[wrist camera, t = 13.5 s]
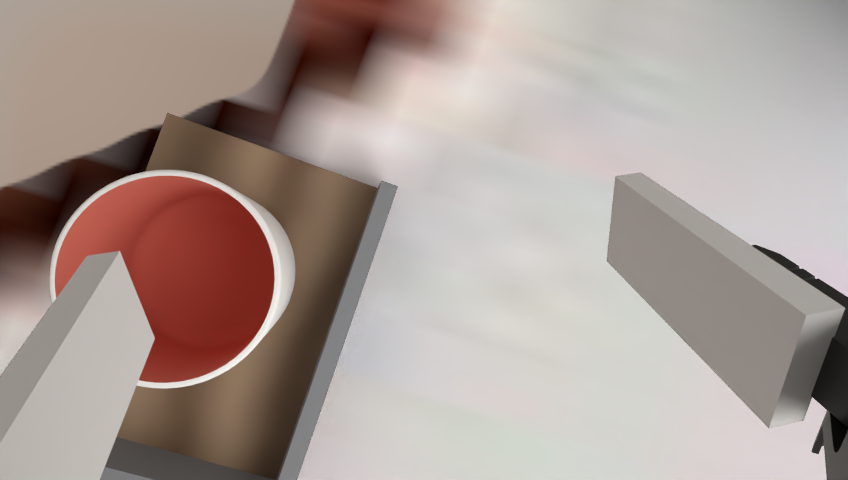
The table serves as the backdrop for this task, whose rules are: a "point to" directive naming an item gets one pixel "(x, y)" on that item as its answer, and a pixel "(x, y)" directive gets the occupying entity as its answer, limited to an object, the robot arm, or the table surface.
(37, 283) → the table surface
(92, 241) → the cup
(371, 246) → the pen walls
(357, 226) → the pen base
